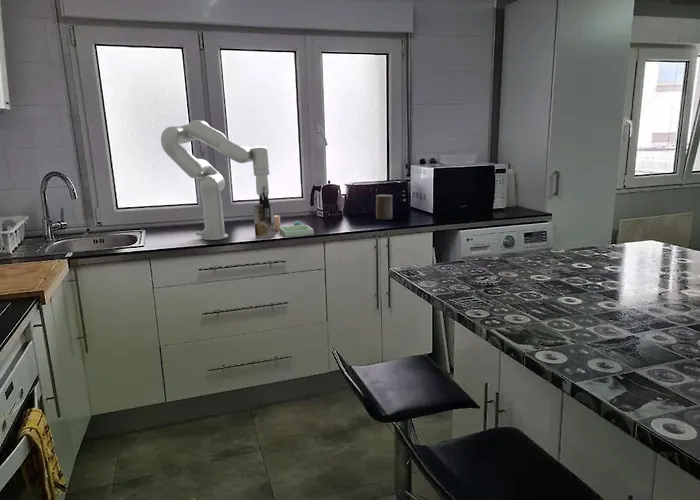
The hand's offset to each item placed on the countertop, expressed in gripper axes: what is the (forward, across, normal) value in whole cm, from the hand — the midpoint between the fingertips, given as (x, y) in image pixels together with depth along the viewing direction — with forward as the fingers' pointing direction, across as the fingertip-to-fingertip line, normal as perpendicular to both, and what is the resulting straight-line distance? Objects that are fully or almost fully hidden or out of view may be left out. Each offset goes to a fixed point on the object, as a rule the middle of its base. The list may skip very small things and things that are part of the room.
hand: (264, 206), depth 255 cm
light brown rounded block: (+15, -14, +6) cm, 22 cm away
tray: (+16, 0, +15) cm, 22 cm away
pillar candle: (+17, -22, +73) cm, 78 cm away
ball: (+16, -15, +19) cm, 29 cm away
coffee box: (+16, 0, -1) cm, 16 cm away
